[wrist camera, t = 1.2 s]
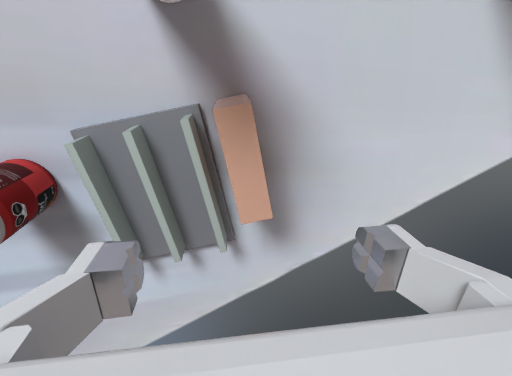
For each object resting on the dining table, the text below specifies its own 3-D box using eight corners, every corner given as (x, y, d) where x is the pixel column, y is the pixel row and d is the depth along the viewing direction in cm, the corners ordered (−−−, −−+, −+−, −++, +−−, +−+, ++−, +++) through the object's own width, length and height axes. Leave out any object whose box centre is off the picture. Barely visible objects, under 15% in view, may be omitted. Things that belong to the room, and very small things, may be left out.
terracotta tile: (245, 93, 36) (251, 102, 27) (263, 185, 42) (272, 218, 33) (216, 99, 36) (212, 110, 27) (238, 190, 42) (241, 224, 33)
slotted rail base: (198, 103, 36) (194, 108, 31) (234, 235, 45) (234, 255, 40) (74, 129, 35) (51, 138, 31) (136, 256, 45) (125, 278, 40)
